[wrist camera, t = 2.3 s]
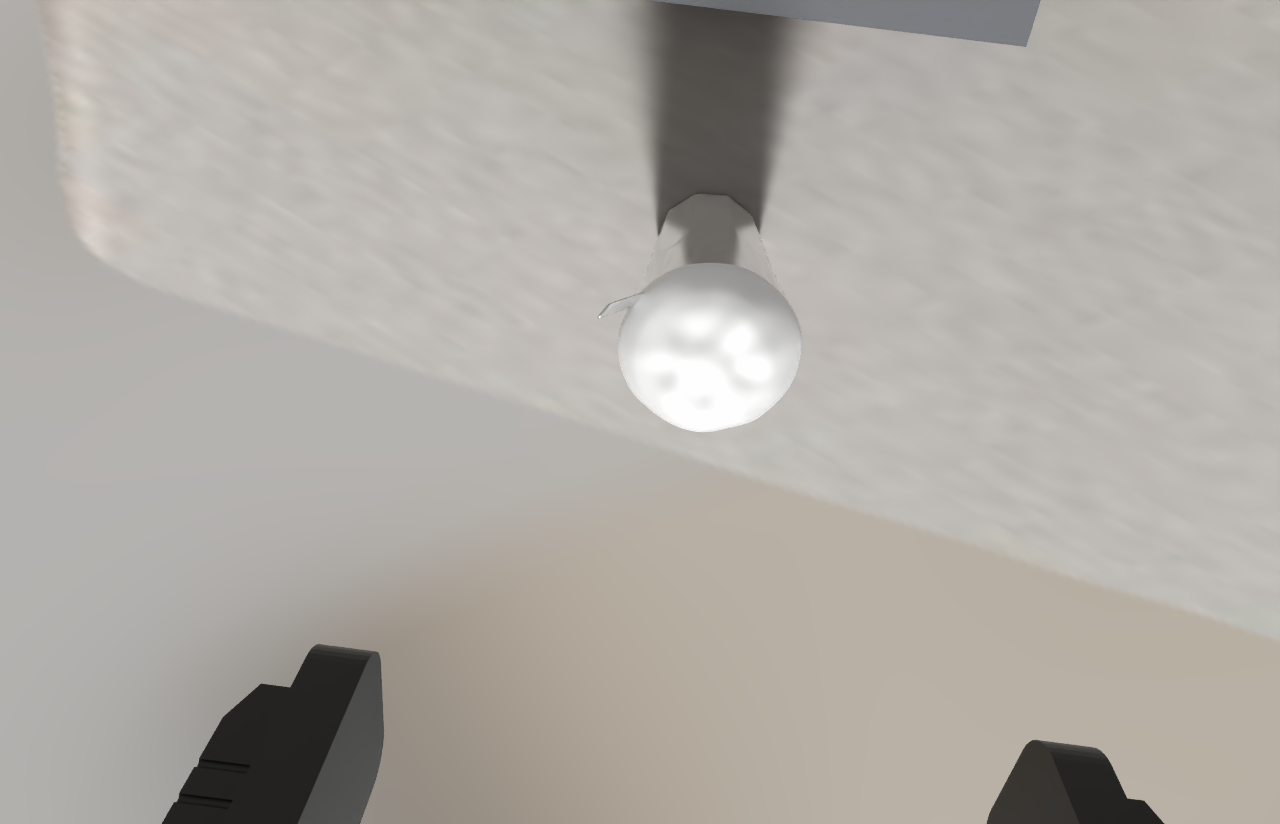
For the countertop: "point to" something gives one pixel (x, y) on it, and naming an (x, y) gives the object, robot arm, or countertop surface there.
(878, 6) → the dock
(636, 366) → the milkshake
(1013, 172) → the countertop surface
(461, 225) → the countertop surface
